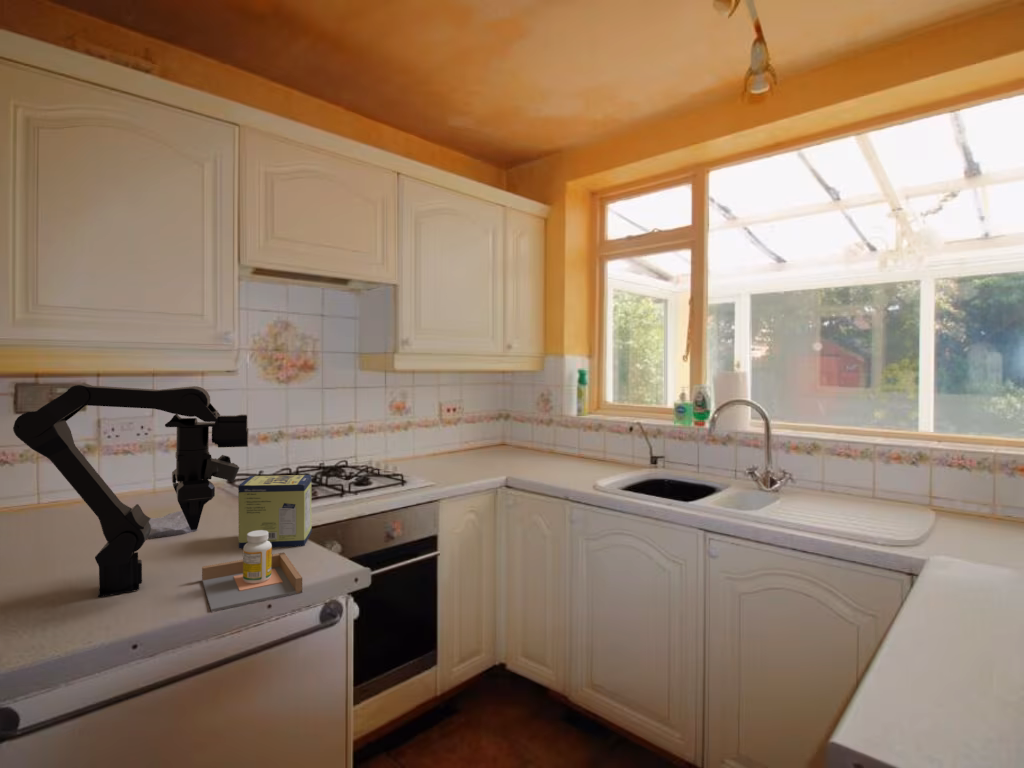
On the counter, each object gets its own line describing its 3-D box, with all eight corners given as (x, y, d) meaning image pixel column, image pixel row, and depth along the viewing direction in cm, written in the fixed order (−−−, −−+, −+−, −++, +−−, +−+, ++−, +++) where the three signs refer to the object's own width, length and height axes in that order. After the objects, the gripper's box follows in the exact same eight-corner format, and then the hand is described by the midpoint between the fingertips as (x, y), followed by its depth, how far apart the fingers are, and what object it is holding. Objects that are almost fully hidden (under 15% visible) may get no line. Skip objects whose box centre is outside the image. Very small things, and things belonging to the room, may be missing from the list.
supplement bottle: (250, 586, 110) (250, 539, 110) (238, 579, 114) (238, 533, 113) (276, 578, 114) (276, 533, 114) (263, 571, 118) (264, 527, 117)
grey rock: (201, 537, 145) (189, 521, 151) (201, 521, 144) (189, 505, 150) (148, 550, 136) (138, 532, 143) (148, 532, 135) (137, 515, 142)
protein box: (249, 534, 143) (249, 475, 142) (312, 532, 146) (312, 474, 145) (236, 549, 132) (236, 485, 131) (305, 546, 135) (305, 483, 134)
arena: (211, 611, 101) (211, 595, 101) (202, 580, 114) (202, 566, 114) (302, 592, 110) (302, 577, 110) (284, 565, 123) (284, 552, 123)
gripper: (243, 453, 110) (242, 530, 111) (229, 439, 125) (228, 507, 126) (178, 457, 103) (177, 539, 104) (172, 442, 119) (171, 513, 120)
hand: (191, 523), depth 114 cm, fingers open, 9 cm apart
